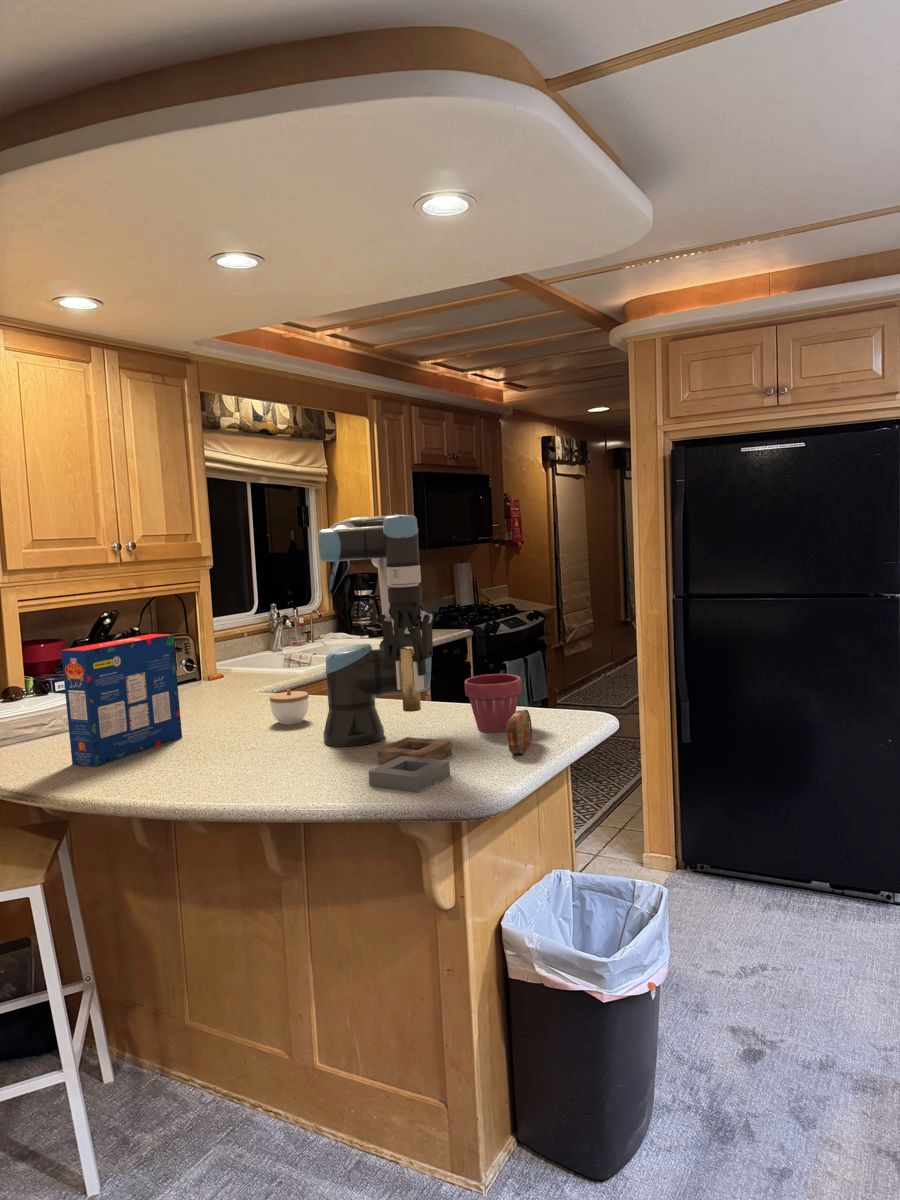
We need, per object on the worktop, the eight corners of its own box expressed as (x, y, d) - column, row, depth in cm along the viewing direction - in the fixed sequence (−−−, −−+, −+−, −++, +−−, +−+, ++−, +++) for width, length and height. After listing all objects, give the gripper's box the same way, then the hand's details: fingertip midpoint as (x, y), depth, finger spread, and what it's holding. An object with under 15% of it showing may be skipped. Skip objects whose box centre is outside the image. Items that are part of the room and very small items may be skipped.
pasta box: (160, 736, 224) (150, 634, 222) (182, 737, 221) (173, 634, 219) (72, 764, 199) (61, 650, 197) (95, 767, 196) (84, 650, 194)
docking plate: (369, 785, 169) (368, 771, 168) (402, 769, 179) (401, 755, 179) (418, 792, 162) (417, 777, 162) (450, 775, 173) (449, 760, 172)
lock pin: (399, 711, 185) (395, 649, 184) (409, 707, 189) (405, 646, 188) (414, 712, 183) (410, 649, 182) (424, 708, 187) (420, 646, 185)
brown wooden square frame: (378, 763, 185) (377, 750, 184) (408, 749, 195) (407, 737, 195) (423, 768, 178) (422, 755, 178) (451, 754, 189) (450, 741, 188)
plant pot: (461, 735, 206) (458, 684, 205) (473, 721, 220) (470, 674, 218) (518, 735, 202) (515, 683, 201) (527, 721, 216) (524, 673, 215)
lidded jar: (318, 719, 234) (315, 686, 233) (291, 728, 225) (289, 693, 224) (290, 716, 240) (287, 684, 239) (263, 725, 231) (260, 691, 230)
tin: (520, 758, 182) (518, 721, 181) (506, 758, 183) (504, 720, 182) (533, 741, 196) (531, 706, 196) (520, 740, 197) (518, 706, 197)
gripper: (363, 587, 185) (370, 690, 187) (427, 586, 176) (434, 694, 178) (382, 584, 191) (389, 684, 193) (445, 583, 182) (451, 687, 184)
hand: (410, 688), depth 186 cm, fingers closed on lock pin, 4 cm apart
